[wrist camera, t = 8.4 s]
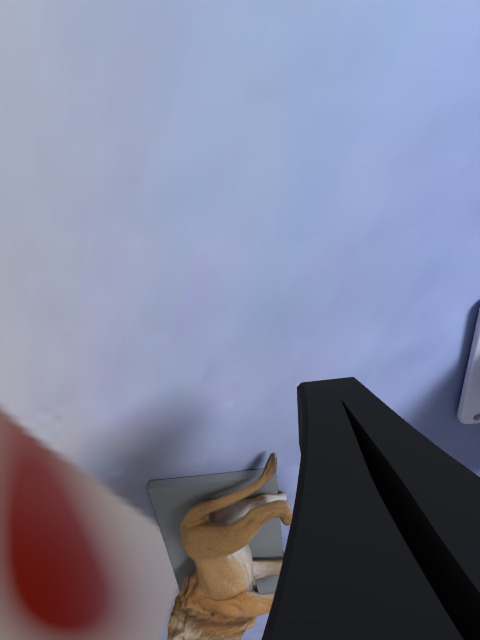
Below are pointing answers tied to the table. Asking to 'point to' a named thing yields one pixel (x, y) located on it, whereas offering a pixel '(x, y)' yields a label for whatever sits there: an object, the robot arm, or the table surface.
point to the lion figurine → (226, 563)
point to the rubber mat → (188, 491)
